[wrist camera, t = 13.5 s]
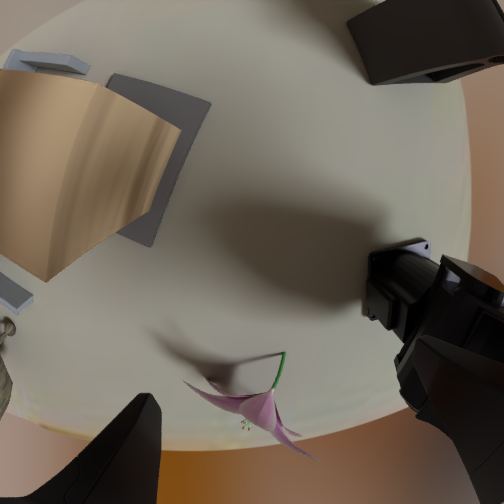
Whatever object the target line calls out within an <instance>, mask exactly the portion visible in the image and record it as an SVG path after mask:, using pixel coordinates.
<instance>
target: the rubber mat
mask: <svg viewBox="0 0 504 504" xmlns="http://www.w3.org/2000/svg"><path fill="white" fill-rule="evenodd" d="M107 89H109V90H111V91H113V92H115V93H117V94H119V95H121V96H123V97H124V98H126V99H128V100H130V101H132V102H134V103H135V104H137V105H139V106H141V107H143V108H144V109H146V110H148V111H150V112H151V113H153V114H155V115H157V116H158V117H160V118H162V119H164V120H165V121H167V122H169V123H170V124H172V125H174V126H175V127H177V128H179V129H180V130H182V131H181V133H180V135H179V137H178V140H177V142H176V144H175V146H174V149H173V151H172V153H171V156H170V158H169V160H168V163H167V165H166V168H165V170H164V172H163V175H162V177H161V180H160V183H159V185H158V188H157V190H156V193H155V196H154V198H153V201H152V204H151V207H150V210H149V211H148V212H147V213H145V214H143V215H142V216H140V217H138V218H137V219H135V220H134V221H132V222H131V223H129V224H127V225H126V226H124V227H123V228H121V229H120V230H118V231H117V232H116V233H118V234H120V235H122V236H125V237H127V238H129V239H131V240H134V241H136V242H138V243H140V244H143V245H145V246H147V247H151V246H152V244H153V241H154V238H155V236H156V233H157V230H158V227H159V224H160V221H161V219H162V216H163V213H164V211H165V208H166V205H167V203H168V200H169V198H170V195H171V193H172V190H173V188H174V185H175V183H176V180H177V178H178V175H179V173H180V171H181V168H182V166H183V164H184V161H185V159H186V157H187V155H188V152H189V150H190V148H191V146H192V144H193V141H194V139H195V137H196V135H197V133H198V131H199V129H200V127H201V124H202V122H203V120H204V118H205V116H206V114H207V112H208V110H209V108H210V106H211V103H210V102H207V101H204V100H202V99H199V98H196V97H193V96H190V95H188V94H185V93H182V92H179V91H176V90H173V89H170V88H166V87H163V86H160V85H157V84H153V83H150V82H146V81H143V80H139V79H135V78H131V77H128V76H123V75H119V74H115V73H114V75H113V77H112V79H111V81H110V83H109V85H108V87H107Z"/></svg>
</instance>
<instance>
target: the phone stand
mask: <svg viewBox="0 0 504 504" xmlns="http://www.w3.org/2000/svg"><path fill="white" fill-rule="evenodd" d="M346 23H347V25H348V27H349V29H350V31H351V33H352V35H353V37H354V39H355V42H356V44H357V46H358V48H359V51H360V53H361V55H362V58H363V60H364V63H365V65H366V68H367V70H368V73H369V76H370V78H371V81H372V84H373V86H376V85H388V84H405V83H448V82H450V81H453V80H456V79H458V78H461V77H463V76H466V75H469V74H472V73H475V72H478V71H481V70H484V69H487V68H490V67H493V66H496V65H501V64H504V13H503V11H502V9H501V7H500V6H499V4H498V2H497V0H386V1H384V2H382V3H380V4H378V5H376V6H374V7H372V8H370V9H368V10H366V11H364V12H363V13H361V14H359V15H357V16H355V17H354V18H352V19H350V20H348V21H347V22H346Z"/></svg>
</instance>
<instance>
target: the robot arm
mask: <svg viewBox="0 0 504 504" xmlns="http://www.w3.org/2000/svg"><path fill="white" fill-rule="evenodd" d="M425 245H426V247H425ZM424 247H425V248H424ZM375 256H376V259H375V260H373V258H374V257H375ZM440 262H441V264H440V265H439V264H437V263H435V262H434V261H432V260H430V242H428V241H426V240H423V241H418V242H414V243H410V244H405V245H401V246H396V247H392V248H387V249H383V250H378V251H374V252H371V253H370V255H369V258H368V279H367V285H366V306H367V307H368V313H367V316H368V318H369V319H370V320H371V321H374V320H377V319H378V320H379V321H380V322H381V324H382V325H383V326H384V327H385V329H387V330H388V331H390V330H393V331H394V333H395V334H396V335H397V336H398V337H399V339H400V340H401V341H402V342H403V343H405V344H404V345H403V347H402V349H401V351H400V353H399V354H397V355H396V357H395V359H394V363H395V367H396V371H397V378H398V381H399V383H400V387H401V389H400V390H399V392H400V395H401V396H402V398H403V399H404V400H405V402H406V403H407V405H408V406H409V407H411V409H413V410H414V411H415V412H417V414H416V415H415V417H416V418H417V419H419V420H422V421H425V422H428V423H430V424H432V425H434V426H435V427H437V428H438V429H440V430H441V431H442V432H444V433H445V434H446V435H447V436H448V437H449V438H450V439H451V440H452V441H453V443H454V445H455V447H456V449H457V451H458V453H459V455H460V457H461V459H462V462H463V464H464V466H465V468H466V470H467V472H468V475H469V477H470V480H471V482H472V484H473V487H474V489H475V491H476V494H477V496H478V499H479V501H480V504H501V503H502V502H504V285H503V283H502V282H501V281H500V280H499V279H498V278H497V277H496V276H494V275H493V274H491V273H489V272H487V271H485V270H483V269H481V268H479V267H478V266H475V265H473V264H470V263H467V262H464V261H461V260H458V259H455V258H452V257H449V256H446V255H443V254H442V257H441V260H440ZM373 314H374V315H373ZM372 315H373V316H372ZM161 426H162V412H161V408H160V406H159V405H158V403H157V402H156V400H155V398H154V397H153V395H152V394H151V393H139V394H138V395H137V396H136V397H135V398H134V399H133V400H132V401H131V402H130V403H129V404H128V405H127V406H126V407H125V408H124V409H123V410H122V411H121V412H120V413H119V414H118V415H117V416H116V417H115V418H114V419H113V420H112V421H111V422H110V423H109V424H108V425H107V426H106V427H105V428H104V429H103V430H102V431H101V432H100V433H99V434H98V435H97V436H96V437H95V438H94V439H93V440H92V441H91V442H90V443H89V444H88V446H86V447H85V449H83V451H81V452H80V453H79V454H78V457H75V458H74V459H73V460H72V461H71V462H70V463H69V464H68V465H67V466H66V467H65V468H64V469H63V470H61V471H60V472H59V473H58V474H57V475H55V476H54V477H53V478H52V479H51V480H49V481H48V482H46V483H45V484H44V485H42V486H41V487H40V488H38V489H37V490H36V491H34V492H33V493H31V494H29V495H27V496H24V497H0V504H156V502H157V489H158V478H159V468H160V459H161Z"/></svg>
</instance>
